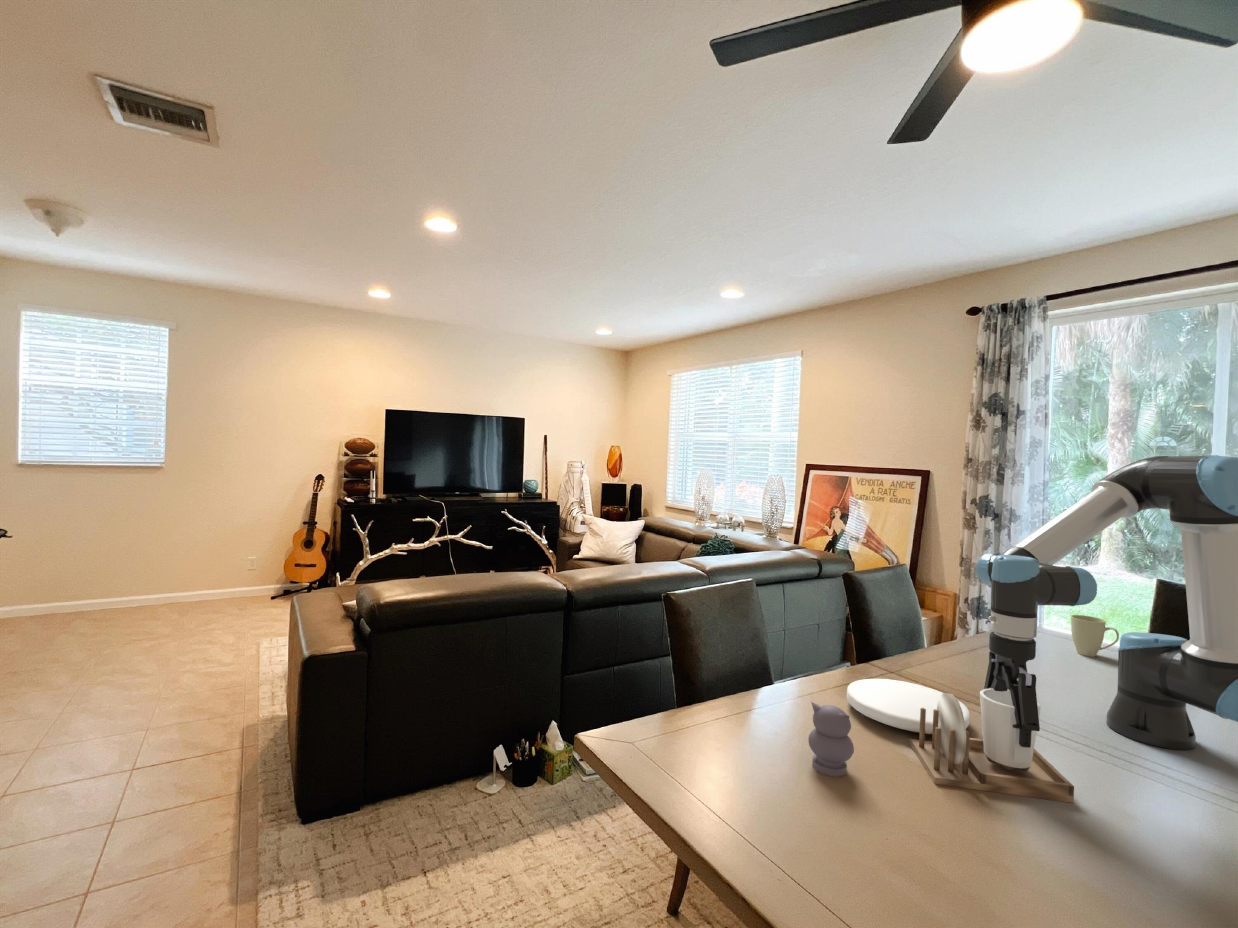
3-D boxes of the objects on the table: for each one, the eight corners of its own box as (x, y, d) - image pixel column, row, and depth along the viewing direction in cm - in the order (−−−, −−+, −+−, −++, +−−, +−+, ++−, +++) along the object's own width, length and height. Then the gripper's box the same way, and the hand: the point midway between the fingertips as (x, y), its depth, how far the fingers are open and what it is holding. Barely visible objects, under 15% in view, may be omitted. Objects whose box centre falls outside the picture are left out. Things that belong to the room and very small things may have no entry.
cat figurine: (859, 769, 112) (862, 708, 111) (842, 784, 106) (845, 720, 106) (818, 752, 118) (820, 694, 117) (800, 765, 112) (802, 705, 112)
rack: (1029, 759, 118) (1032, 691, 118) (1073, 802, 103) (1076, 724, 103) (910, 744, 122) (912, 678, 122) (934, 783, 107) (937, 708, 107)
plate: (837, 669, 153) (945, 681, 148) (836, 694, 153) (945, 707, 147) (860, 700, 126) (993, 716, 121) (859, 730, 125) (993, 748, 120)
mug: (1081, 658, 185) (1083, 621, 185) (1063, 648, 195) (1064, 613, 195) (1119, 661, 183) (1121, 624, 183) (1099, 651, 193) (1100, 616, 193)
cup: (1036, 759, 113) (1038, 695, 113) (1040, 782, 105) (1043, 713, 105) (977, 744, 119) (979, 684, 119) (977, 765, 110) (979, 699, 110)
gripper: (968, 618, 123) (964, 720, 124) (1019, 651, 101) (1014, 775, 101) (1006, 621, 122) (1002, 724, 122) (1067, 655, 100) (1061, 781, 100)
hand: (1007, 747), depth 112 cm, fingers open, 10 cm apart
